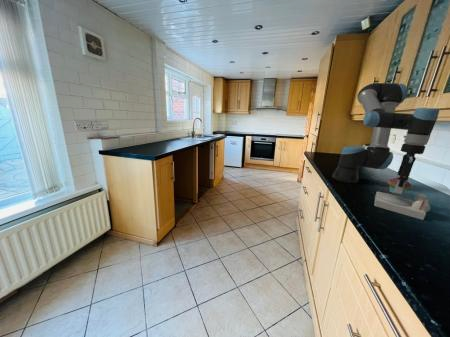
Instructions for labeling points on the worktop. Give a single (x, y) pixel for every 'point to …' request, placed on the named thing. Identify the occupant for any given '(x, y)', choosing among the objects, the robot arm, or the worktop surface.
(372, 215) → the worktop surface
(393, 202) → the scale
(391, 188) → the cupcake
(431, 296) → the worktop surface
